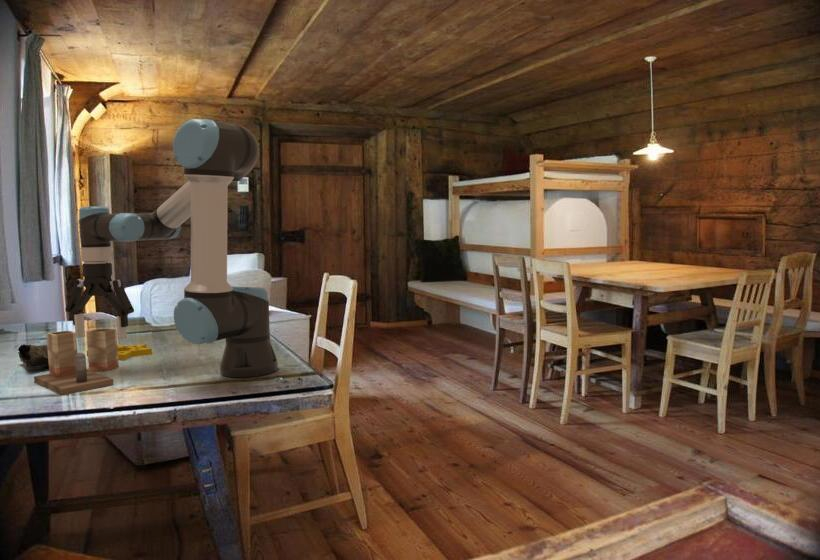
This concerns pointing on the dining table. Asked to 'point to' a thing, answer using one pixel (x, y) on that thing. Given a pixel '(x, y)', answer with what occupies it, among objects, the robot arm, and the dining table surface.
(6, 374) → the dining table surface
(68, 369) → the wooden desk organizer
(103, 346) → the sleeve
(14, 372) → the dining table surface
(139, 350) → the star of david
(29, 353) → the rock
